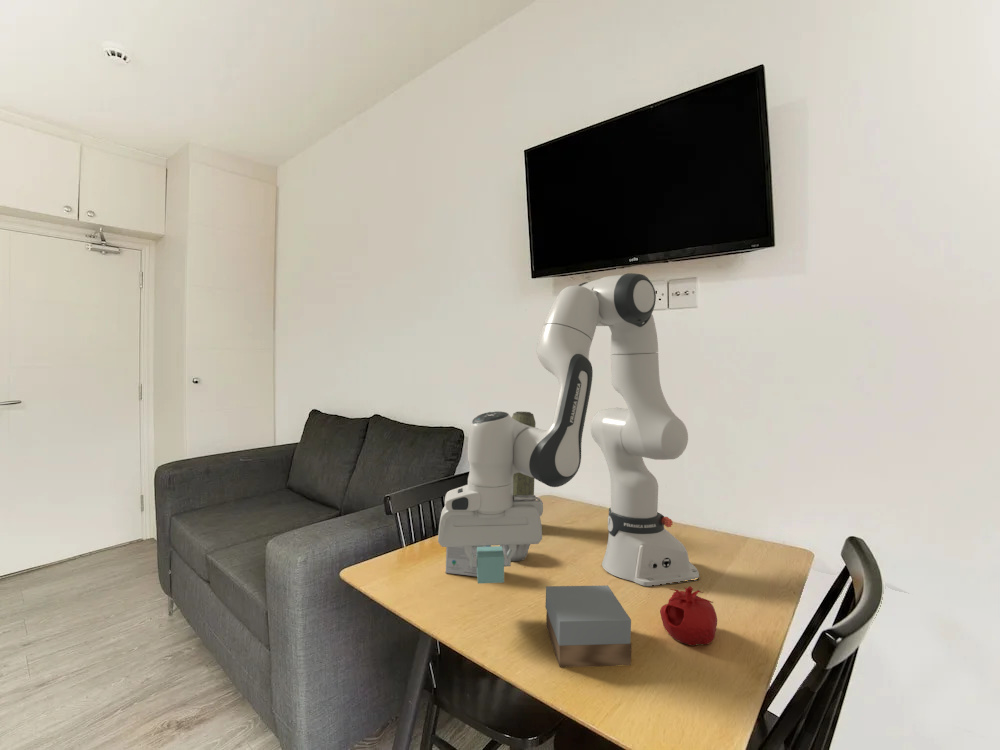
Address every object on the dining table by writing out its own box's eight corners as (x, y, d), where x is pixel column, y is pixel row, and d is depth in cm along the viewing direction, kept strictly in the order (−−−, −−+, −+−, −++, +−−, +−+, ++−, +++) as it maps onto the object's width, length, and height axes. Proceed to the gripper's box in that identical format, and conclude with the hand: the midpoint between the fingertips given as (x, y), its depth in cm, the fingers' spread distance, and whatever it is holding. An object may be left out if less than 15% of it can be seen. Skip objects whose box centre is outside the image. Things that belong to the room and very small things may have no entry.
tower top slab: (607, 606, 89) (608, 585, 89) (630, 643, 77) (631, 619, 77) (545, 607, 88) (546, 586, 88) (559, 645, 76) (559, 621, 76)
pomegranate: (708, 623, 90) (710, 576, 90) (724, 655, 80) (726, 602, 80) (655, 617, 92) (657, 571, 92) (665, 648, 82) (666, 596, 82)
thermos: (536, 522, 146) (539, 411, 146) (532, 535, 135) (535, 414, 134) (508, 519, 148) (511, 409, 147) (502, 532, 136) (505, 413, 135)
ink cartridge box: (491, 568, 112) (492, 508, 112) (486, 578, 107) (487, 516, 106) (452, 564, 114) (453, 505, 114) (444, 573, 109) (446, 512, 108)
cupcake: (531, 566, 114) (532, 525, 114) (493, 562, 116) (494, 522, 115) (534, 551, 123) (535, 513, 123) (499, 548, 125) (500, 511, 125)
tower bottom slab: (608, 627, 89) (608, 606, 89) (630, 667, 77) (631, 644, 77) (546, 628, 88) (546, 607, 88) (559, 669, 76) (560, 645, 76)
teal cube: (501, 570, 94) (501, 546, 93) (504, 582, 89) (504, 556, 88) (476, 571, 93) (476, 546, 93) (477, 583, 88) (477, 557, 88)
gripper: (540, 490, 94) (539, 557, 95) (438, 492, 93) (438, 560, 93) (546, 499, 88) (545, 571, 89) (437, 502, 86) (437, 575, 87)
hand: (490, 565), depth 91 cm, fingers closed on teal cube, 5 cm apart
